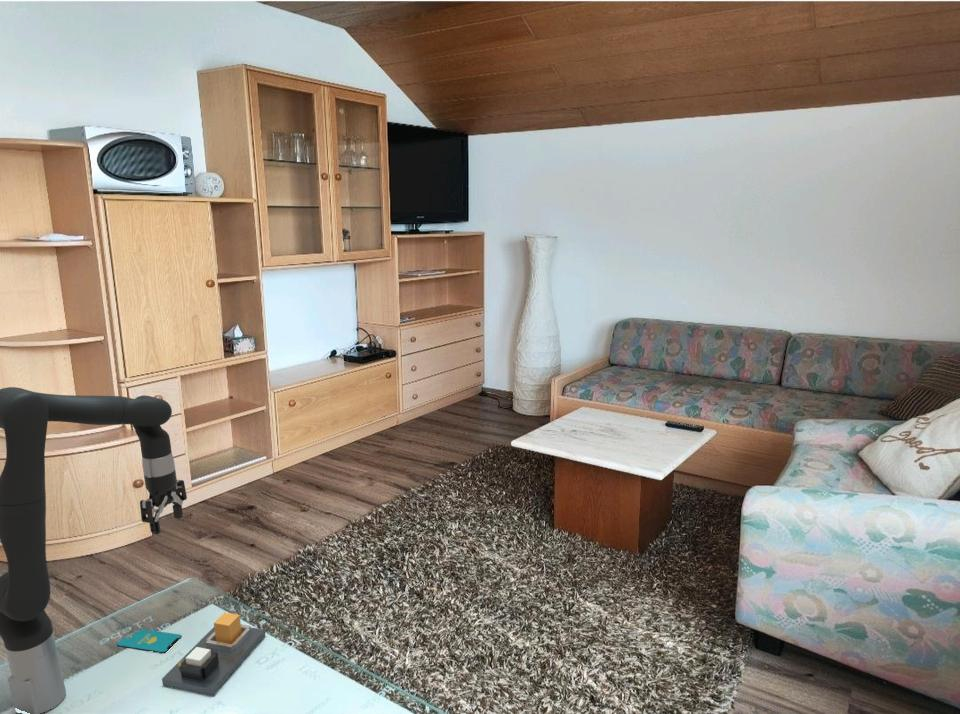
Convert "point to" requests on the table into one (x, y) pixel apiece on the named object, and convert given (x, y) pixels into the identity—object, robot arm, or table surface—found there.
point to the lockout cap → (227, 628)
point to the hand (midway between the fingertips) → (167, 525)
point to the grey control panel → (214, 662)
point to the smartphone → (150, 641)
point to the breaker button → (198, 656)
